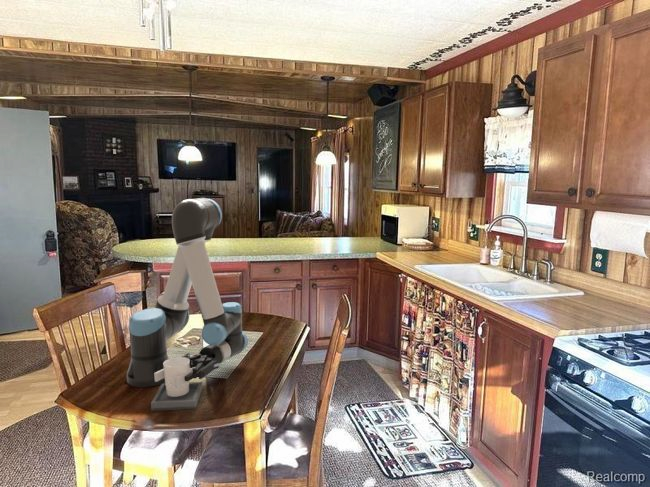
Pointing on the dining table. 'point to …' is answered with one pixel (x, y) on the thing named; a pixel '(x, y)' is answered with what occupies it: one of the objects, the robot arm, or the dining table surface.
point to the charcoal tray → (177, 398)
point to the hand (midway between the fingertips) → (165, 380)
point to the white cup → (176, 375)
